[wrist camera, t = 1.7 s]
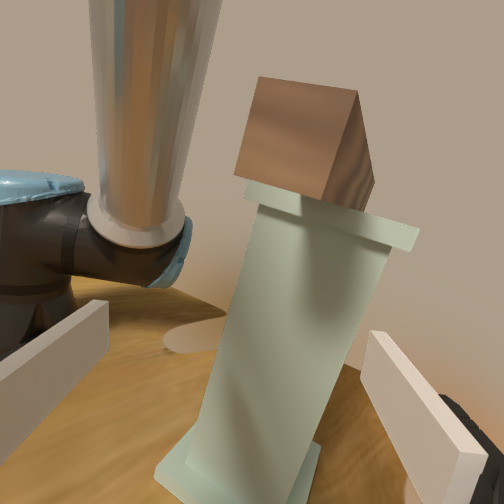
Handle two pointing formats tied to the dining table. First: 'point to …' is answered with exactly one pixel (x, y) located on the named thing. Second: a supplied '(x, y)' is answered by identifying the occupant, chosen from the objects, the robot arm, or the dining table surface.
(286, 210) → the stand
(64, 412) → the dining table surface
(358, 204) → the walnut bar
